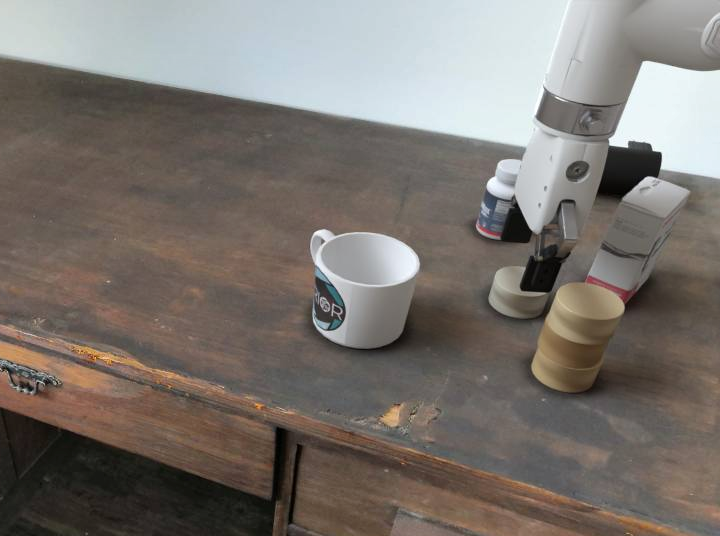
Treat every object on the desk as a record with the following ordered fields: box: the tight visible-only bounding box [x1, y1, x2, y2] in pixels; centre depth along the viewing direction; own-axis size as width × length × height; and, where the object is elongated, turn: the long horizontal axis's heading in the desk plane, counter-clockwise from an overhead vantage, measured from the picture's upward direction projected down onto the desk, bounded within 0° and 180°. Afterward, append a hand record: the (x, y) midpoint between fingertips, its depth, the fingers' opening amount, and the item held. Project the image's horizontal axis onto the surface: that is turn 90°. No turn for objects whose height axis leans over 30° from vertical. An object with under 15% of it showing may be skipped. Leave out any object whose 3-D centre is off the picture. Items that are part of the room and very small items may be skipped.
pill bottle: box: [475, 158, 522, 241], centre depth 96 cm, size 5×5×9 cm
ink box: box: [584, 177, 692, 306], centre depth 86 cm, size 9×5×12 cm, turn 137°
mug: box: [309, 228, 421, 350], centre depth 83 cm, size 13×10×8 cm
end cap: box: [597, 140, 663, 198], centre depth 105 cm, size 10×7×7 cm
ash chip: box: [488, 265, 551, 320], centre depth 86 cm, size 6×6×3 cm
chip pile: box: [530, 312, 610, 394], centre depth 76 cm, size 6×6×6 cm
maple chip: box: [547, 281, 626, 345], centre depth 73 cm, size 6×6×3 cm
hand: (523, 264), depth 84 cm, fingers open, 9 cm apart
